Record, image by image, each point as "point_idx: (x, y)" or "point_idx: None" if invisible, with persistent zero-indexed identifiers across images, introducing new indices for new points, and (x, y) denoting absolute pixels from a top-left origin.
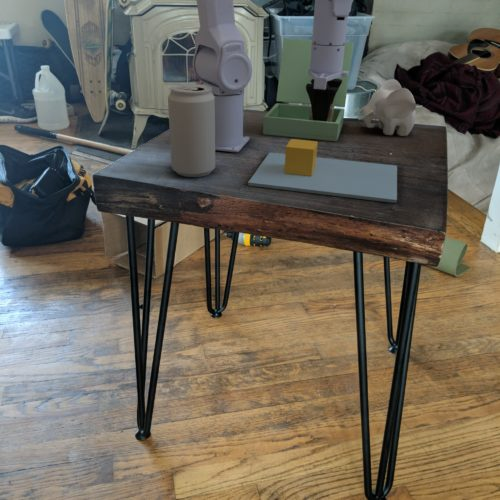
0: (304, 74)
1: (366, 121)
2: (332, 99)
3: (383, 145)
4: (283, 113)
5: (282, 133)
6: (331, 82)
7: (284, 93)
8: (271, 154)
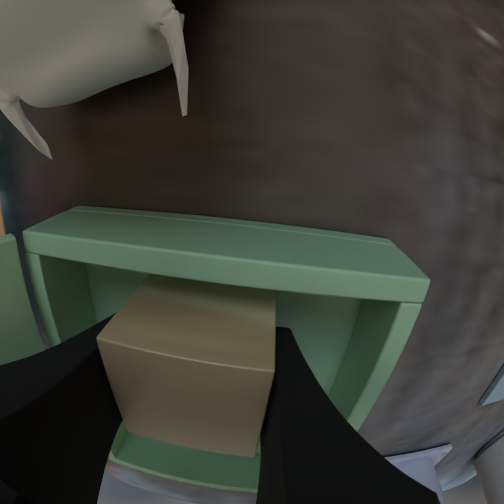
0: None
1: (169, 58)
2: (380, 455)
3: (395, 16)
4: (120, 427)
5: None
6: (26, 486)
7: None
8: (494, 397)
